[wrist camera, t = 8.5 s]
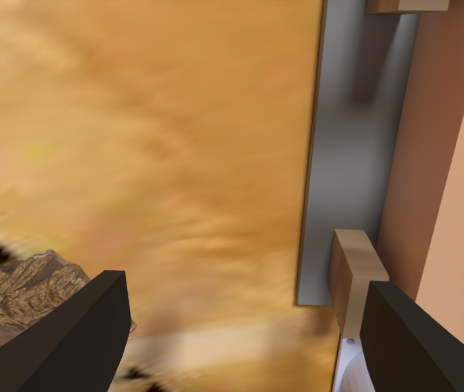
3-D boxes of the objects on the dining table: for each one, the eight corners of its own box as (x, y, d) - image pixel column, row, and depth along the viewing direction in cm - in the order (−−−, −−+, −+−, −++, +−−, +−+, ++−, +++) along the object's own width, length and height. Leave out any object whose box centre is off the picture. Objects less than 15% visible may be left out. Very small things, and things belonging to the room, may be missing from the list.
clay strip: (416, 282, 20) (462, 355, 16) (369, 280, 21) (402, 352, 16) (504, -70, 14) (626, -118, 9) (436, -70, 14) (523, -116, 10)
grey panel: (468, 300, 22) (523, 371, 17) (296, 293, 22) (306, 360, 18) (611, -134, 14) (788, -214, 9) (336, -132, 14) (375, -206, 10)
